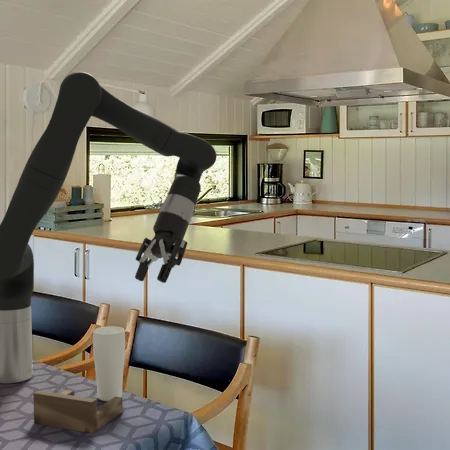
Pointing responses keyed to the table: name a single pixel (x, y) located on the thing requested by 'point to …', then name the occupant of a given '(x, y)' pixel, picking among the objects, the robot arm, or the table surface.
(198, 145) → the robot arm
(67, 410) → the walnut dock
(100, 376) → the white cup
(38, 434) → the table surface
